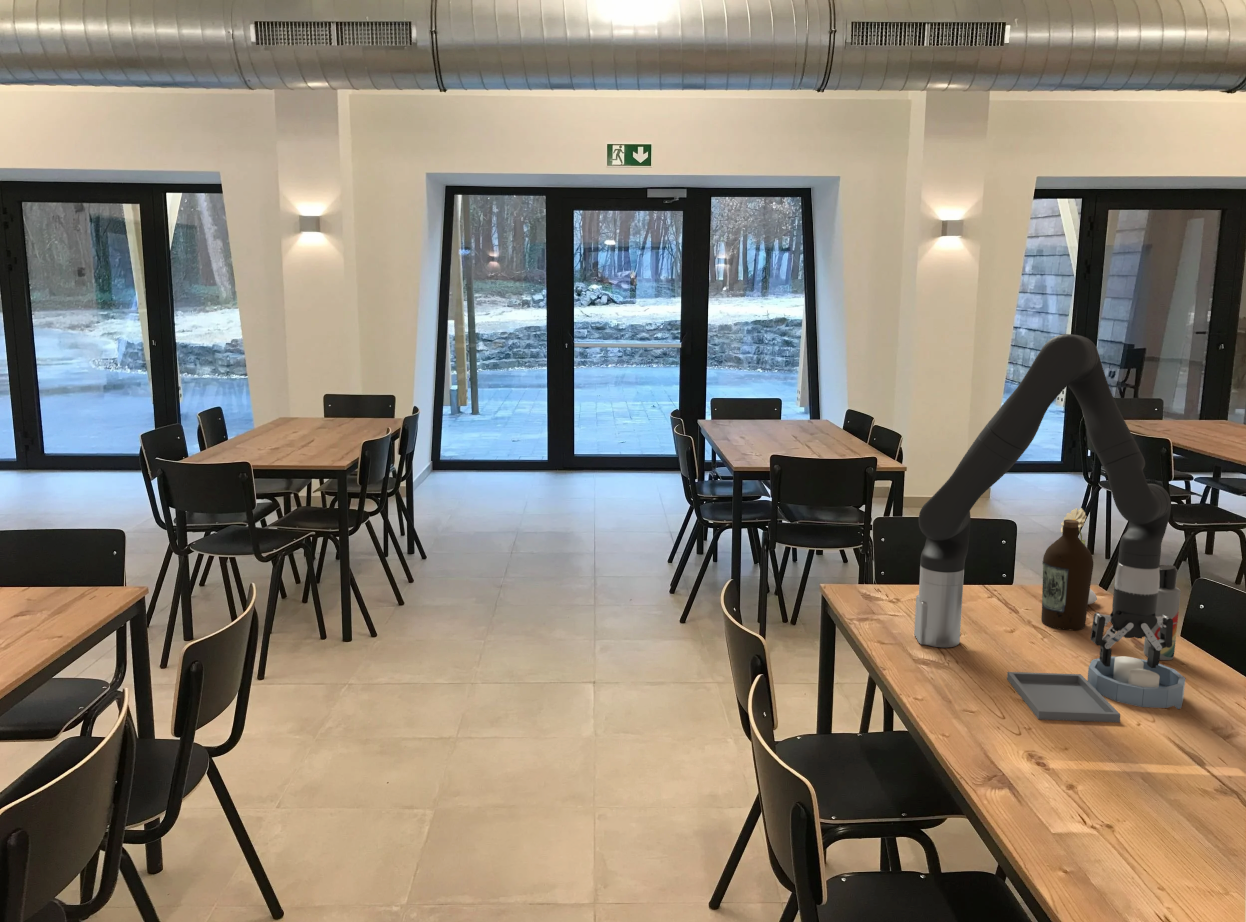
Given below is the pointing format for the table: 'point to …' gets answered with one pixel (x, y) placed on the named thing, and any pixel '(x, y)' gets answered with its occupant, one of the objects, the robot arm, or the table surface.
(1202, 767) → the table surface
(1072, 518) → the flower in vase
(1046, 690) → the parts tray
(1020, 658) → the table surface
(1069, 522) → the olive oil
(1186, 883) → the table surface
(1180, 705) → the bowl
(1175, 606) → the lotion bottle
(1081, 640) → the table surface
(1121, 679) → the marshmallow
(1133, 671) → the white marshmallow
